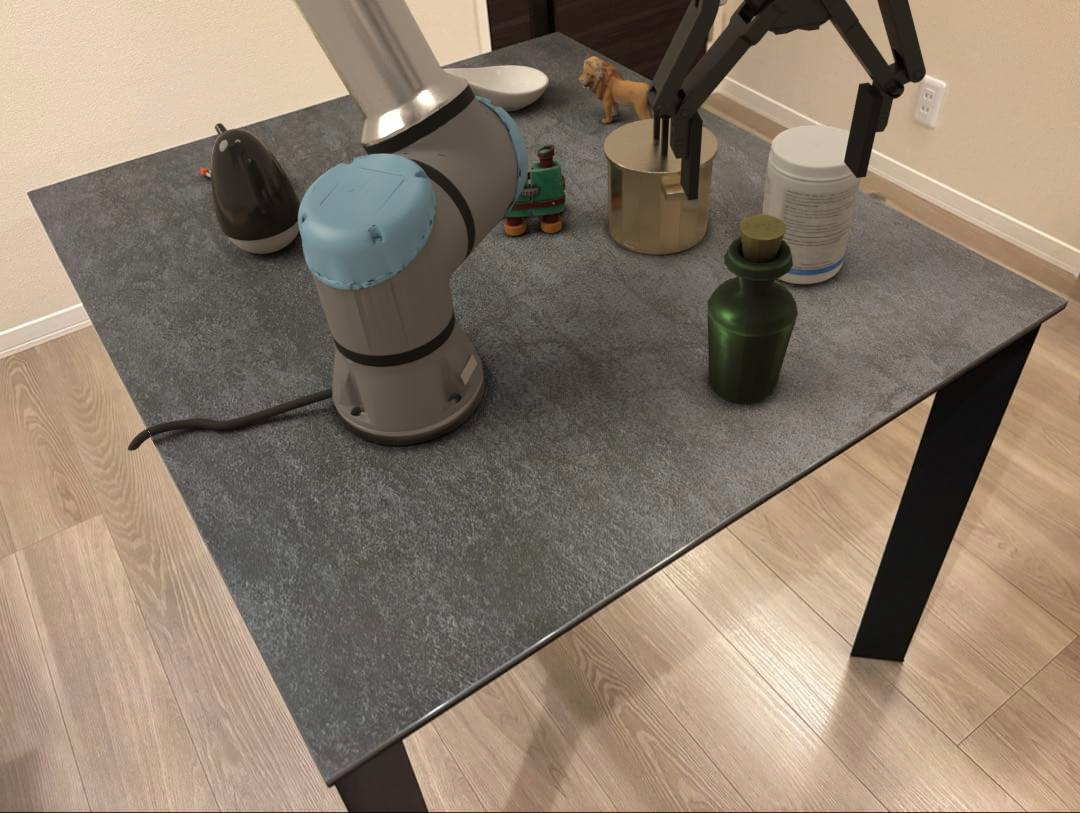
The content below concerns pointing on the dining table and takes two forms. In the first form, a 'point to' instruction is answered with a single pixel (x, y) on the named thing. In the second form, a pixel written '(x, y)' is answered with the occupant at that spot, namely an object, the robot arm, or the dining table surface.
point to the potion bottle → (751, 314)
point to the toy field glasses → (540, 196)
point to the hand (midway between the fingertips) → (771, 180)
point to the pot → (656, 211)
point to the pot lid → (651, 148)
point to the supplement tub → (811, 198)
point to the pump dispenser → (252, 193)
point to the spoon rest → (504, 84)
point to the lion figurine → (614, 89)
